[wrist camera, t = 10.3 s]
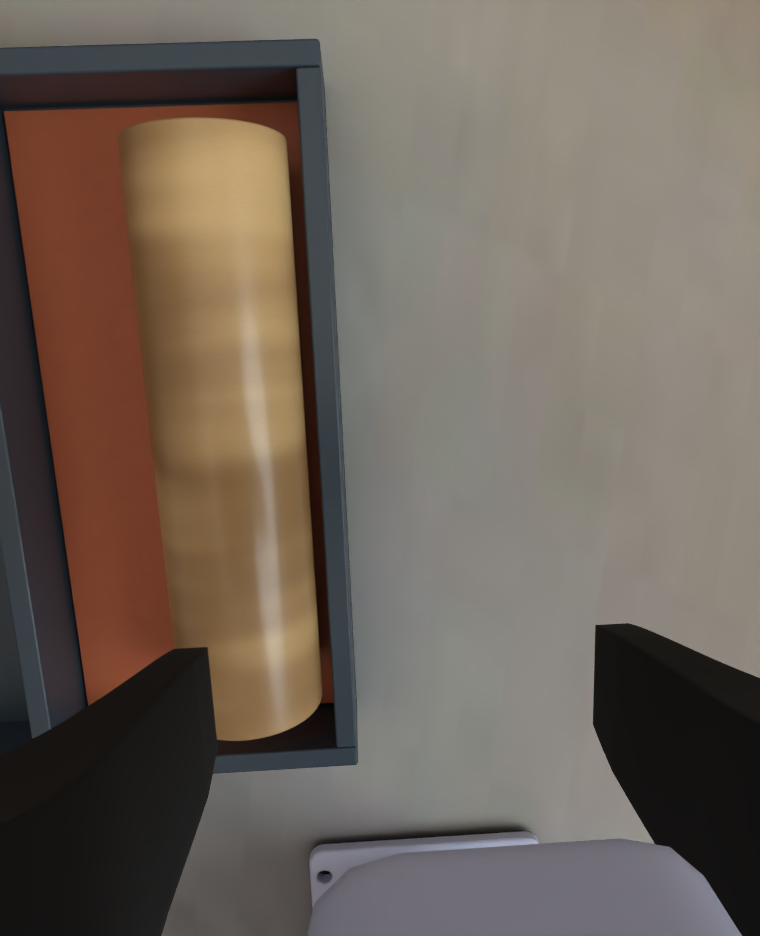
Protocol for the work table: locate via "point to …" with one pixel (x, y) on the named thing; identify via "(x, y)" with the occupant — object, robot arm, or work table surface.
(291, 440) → the rolling pin
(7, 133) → the tray
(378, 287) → the work table surface
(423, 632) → the work table surface
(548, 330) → the work table surface
